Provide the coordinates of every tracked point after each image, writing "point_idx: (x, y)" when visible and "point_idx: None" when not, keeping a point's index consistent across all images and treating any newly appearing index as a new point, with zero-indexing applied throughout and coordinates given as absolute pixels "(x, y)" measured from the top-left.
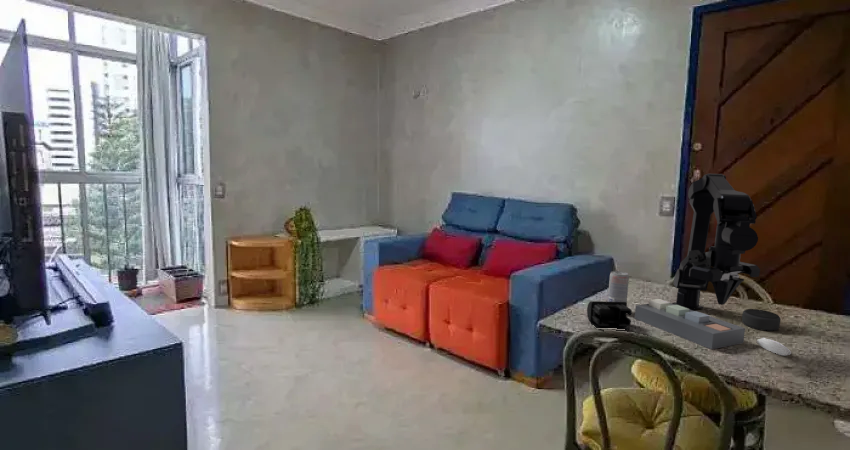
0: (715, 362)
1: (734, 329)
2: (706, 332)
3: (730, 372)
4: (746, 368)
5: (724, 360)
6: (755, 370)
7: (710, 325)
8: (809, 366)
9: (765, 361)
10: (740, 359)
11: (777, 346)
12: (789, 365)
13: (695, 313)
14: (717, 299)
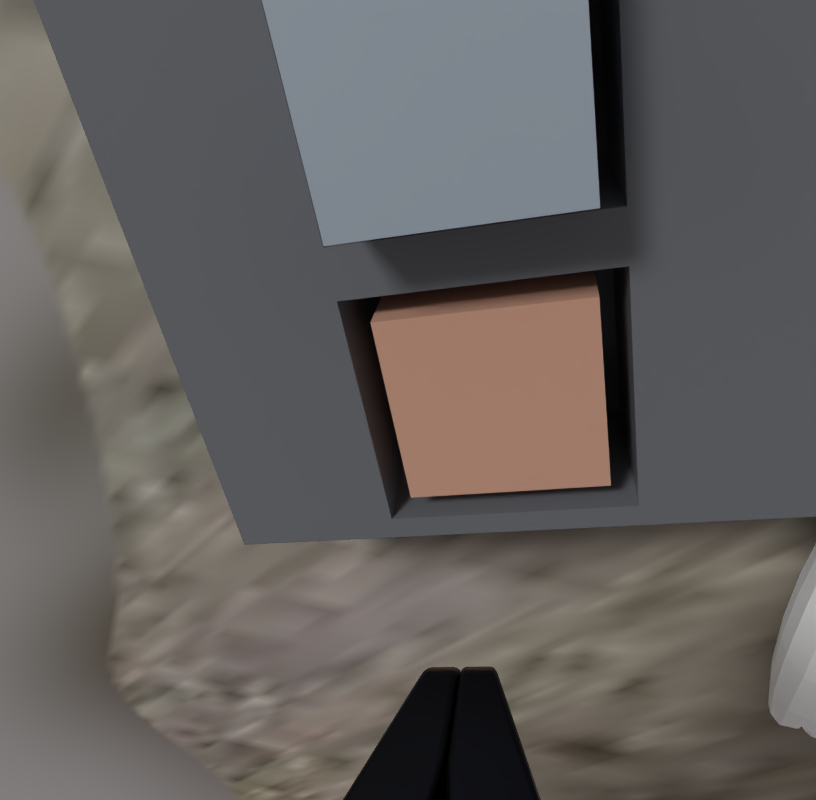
0: (151, 599)
1: (628, 514)
2: (224, 473)
3: (152, 695)
4: (296, 693)
5: (241, 595)
6: (330, 719)
7: (439, 340)
8: (764, 781)
9: (535, 673)
10: (376, 613)
11: (789, 698)
12: (639, 742)
13: (418, 38)
14: (381, 747)
